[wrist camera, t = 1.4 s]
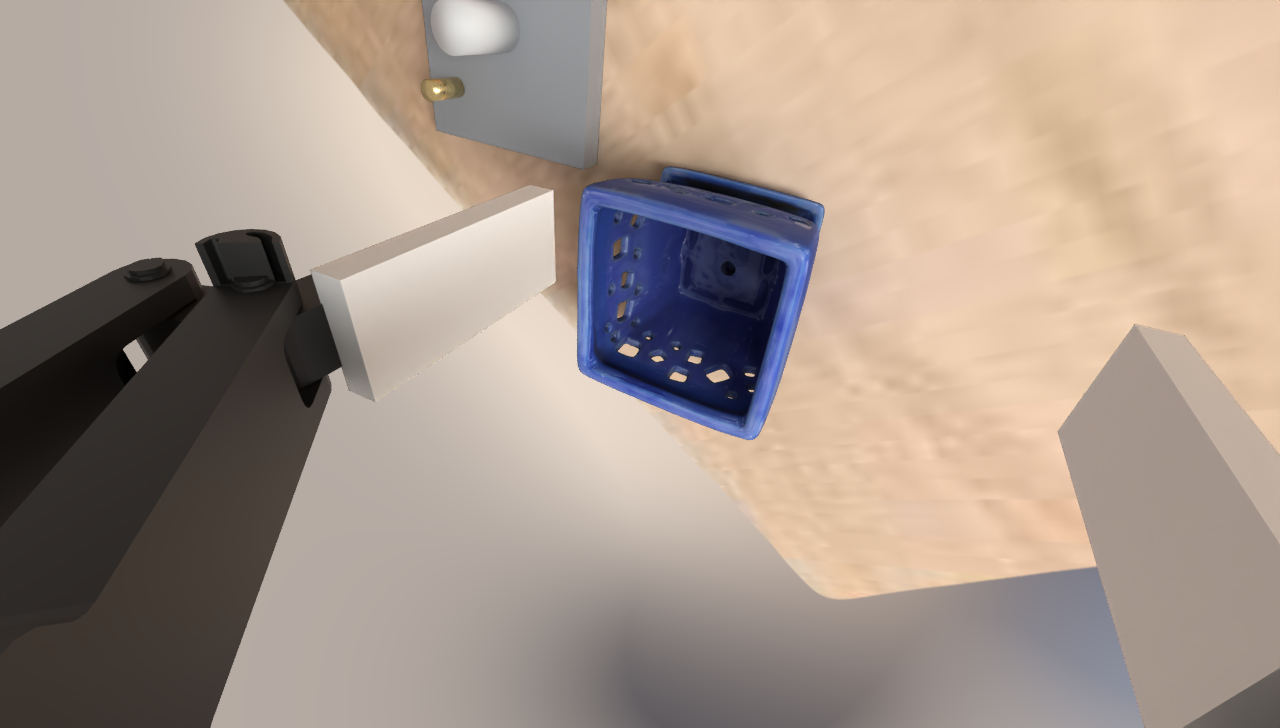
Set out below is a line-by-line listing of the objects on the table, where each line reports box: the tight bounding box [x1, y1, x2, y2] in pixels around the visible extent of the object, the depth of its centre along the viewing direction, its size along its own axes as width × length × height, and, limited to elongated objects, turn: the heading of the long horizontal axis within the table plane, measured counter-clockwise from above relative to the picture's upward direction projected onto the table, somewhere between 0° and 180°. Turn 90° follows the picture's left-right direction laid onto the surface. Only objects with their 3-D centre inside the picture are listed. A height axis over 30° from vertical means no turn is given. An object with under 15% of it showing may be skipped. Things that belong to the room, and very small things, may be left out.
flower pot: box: [577, 167, 824, 440], centre depth 34 cm, size 13×13×12 cm
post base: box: [422, 0, 607, 170], centre depth 34 cm, size 16×14×7 cm
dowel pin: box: [421, 77, 465, 102], centre depth 38 cm, size 1×1×3 cm
